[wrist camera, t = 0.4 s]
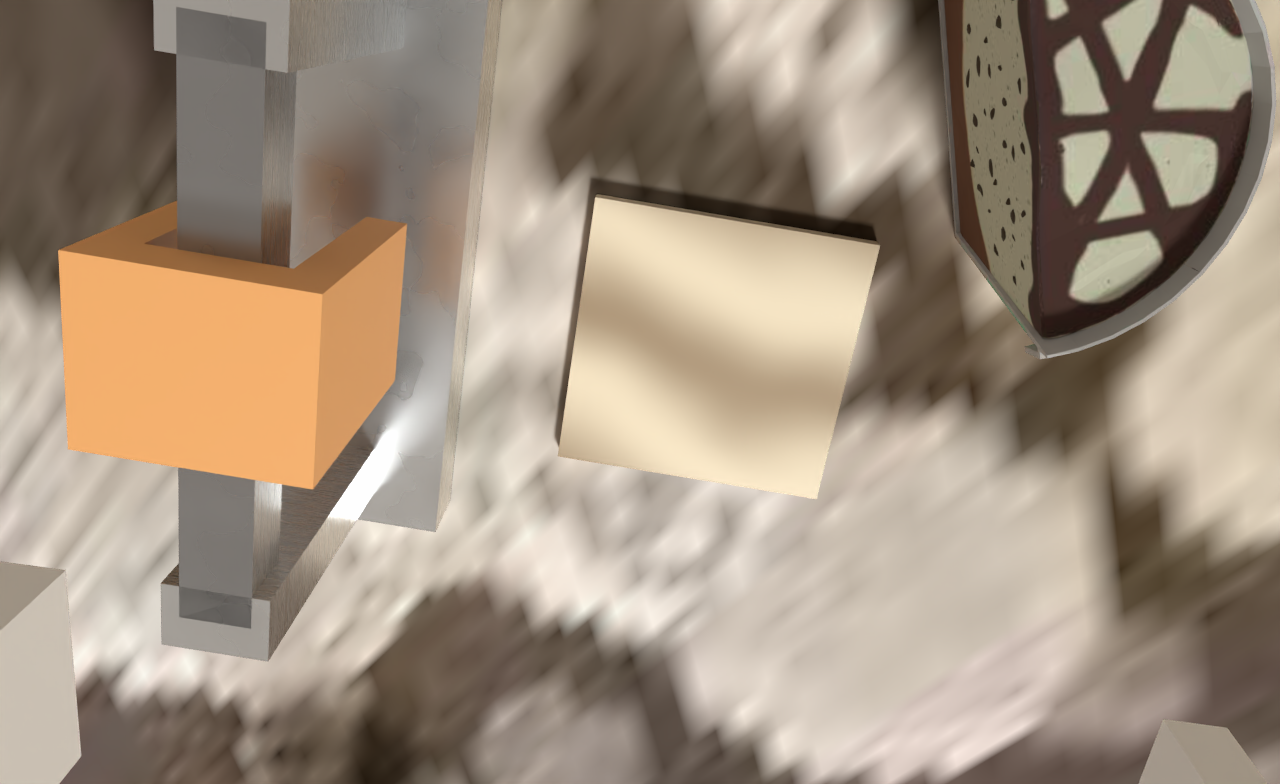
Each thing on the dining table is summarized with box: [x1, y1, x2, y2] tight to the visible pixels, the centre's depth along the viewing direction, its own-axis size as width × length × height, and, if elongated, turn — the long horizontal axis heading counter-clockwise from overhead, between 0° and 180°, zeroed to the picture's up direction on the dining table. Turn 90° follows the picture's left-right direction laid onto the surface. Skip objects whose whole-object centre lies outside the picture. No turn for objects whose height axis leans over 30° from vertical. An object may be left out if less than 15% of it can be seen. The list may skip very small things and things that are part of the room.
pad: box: [558, 194, 880, 499], centre depth 38 cm, size 10×10×1 cm
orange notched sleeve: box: [58, 201, 407, 489], centre depth 28 cm, size 5×6×8 cm
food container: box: [938, 0, 1276, 359], centre depth 30 cm, size 12×6×10 cm, turn 10°
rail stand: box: [153, 0, 502, 661], centre depth 32 cm, size 20×8×12 cm, turn 171°
